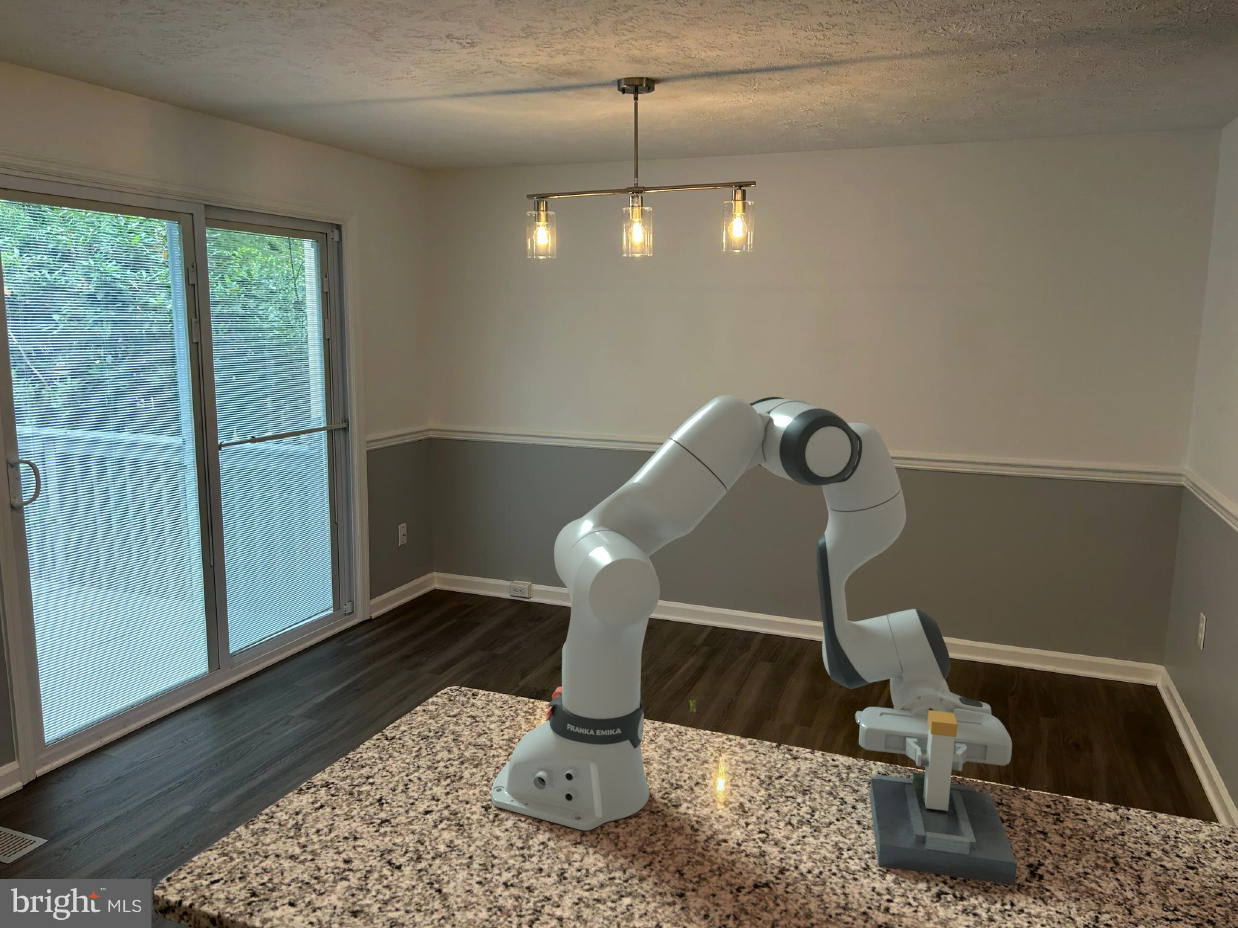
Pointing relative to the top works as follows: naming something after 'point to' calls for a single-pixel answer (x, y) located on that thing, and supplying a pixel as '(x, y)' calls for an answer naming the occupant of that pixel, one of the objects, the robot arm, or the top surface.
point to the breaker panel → (940, 832)
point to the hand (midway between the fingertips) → (939, 763)
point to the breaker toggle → (939, 759)
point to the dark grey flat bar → (906, 780)
